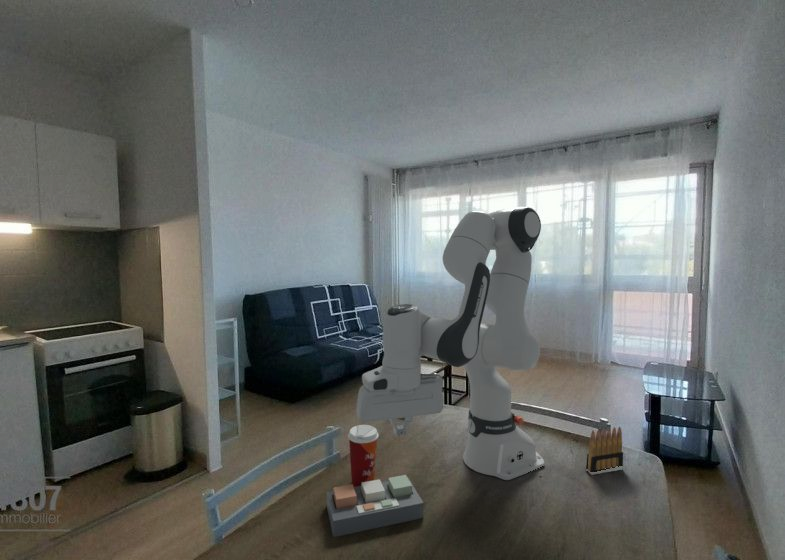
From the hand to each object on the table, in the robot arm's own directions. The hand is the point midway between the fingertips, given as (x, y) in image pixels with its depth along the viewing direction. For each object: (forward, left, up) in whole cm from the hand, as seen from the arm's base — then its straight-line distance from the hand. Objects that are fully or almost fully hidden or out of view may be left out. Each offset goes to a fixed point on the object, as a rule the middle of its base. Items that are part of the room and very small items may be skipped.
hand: (400, 434), depth 88 cm
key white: (+6, 0, -14) cm, 15 cm away
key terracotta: (+13, 0, -14) cm, 19 cm away
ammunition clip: (-58, +3, -17) cm, 61 cm away
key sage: (0, 0, -14) cm, 14 cm away
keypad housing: (+6, +1, -17) cm, 18 cm away
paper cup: (+6, -10, -17) cm, 21 cm away
